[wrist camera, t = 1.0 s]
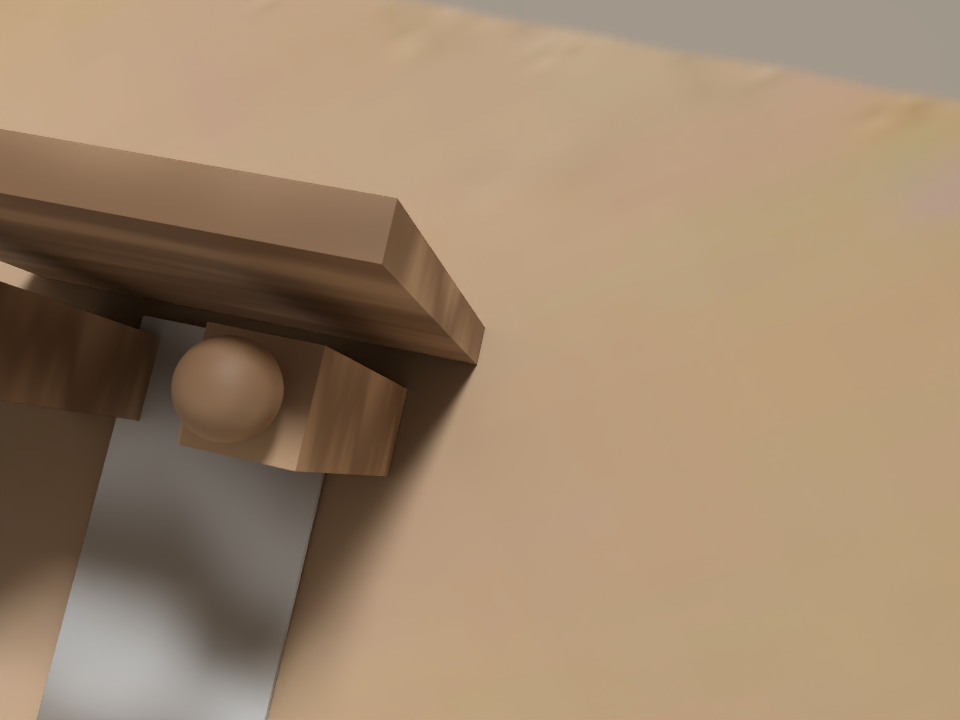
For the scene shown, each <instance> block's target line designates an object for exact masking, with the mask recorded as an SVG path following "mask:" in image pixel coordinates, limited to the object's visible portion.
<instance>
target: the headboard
mask: <svg viewBox="0 0 960 720" xmlns="http://www.w3.org/2000/svg"><path fill="white" fill-rule="evenodd" d="M0 261H2V262H5V263H7V264H10V265H13V266H15V267H18V268H20V269H23V270H26V271H28V272H31V273H34V274H36V275H39V276H41V277H44V278H49V279H54V280H59V281H64V282H69V283H74V284H79V285H84V286H88V287H93V288H98V289H103V290H108V291H113V292H118V293H123V294H128V295H133V296H138V297H143V298H148V299H153V300H158V301H163V302H168V303H173V304H178V305H183V306H188V307H193V308H198V309H203V310H208V311H213V312H218V313H223V314H228V315H232V316H237V317H242V318H247V319H252V320H257V321H262V322H267V323H272V324H277V325H282V326H287V327H292V328H297V329H302V330H307V331H312V332H317V333H322V334H327V335H332V336H337V337H342V338H347V339H352V340H357V341H362V342H367V343H372V344H377V345H381V346H386V347H391V348H396V349H401V350H406V351H411V352H416V353H421V354H426V355H431V356H436V357H441V358H446V359H451V360H456V361H461V362H466V363H471V364H476V365H477V362H478V357H479V353H480V348H481V344H482V339H483V335H484V330H485V327H484V326H483V324H482V323H481V321H480V320H479V318H478V317H477V315H476V314H475V312H474V311H473V309H472V308H471V306H470V305H469V304H468V302H467V301H466V299H465V298H464V296H463V295H462V293H461V292H460V290H459V289H458V287H457V286H456V284H455V283H454V281H453V280H452V278H451V277H450V275H449V274H448V272H447V271H446V270H445V268H444V267H443V265H442V264H441V262H440V261H439V259H438V258H437V256H436V255H435V253H434V252H433V250H432V249H431V247H430V246H429V244H428V243H427V241H426V240H425V239H424V237H423V236H422V234H421V233H420V231H419V230H418V228H417V227H416V225H415V224H414V222H413V221H412V219H411V218H410V216H409V215H408V213H407V212H406V210H405V209H404V208H403V206H402V205H401V203H400V202H399V200H398V199H397V198H392V197H387V196H381V195H375V194H370V193H364V192H358V191H352V190H347V189H341V188H335V187H329V186H324V185H318V184H312V183H307V182H301V181H295V180H289V179H284V178H278V177H272V176H266V175H261V174H255V173H249V172H244V171H238V170H232V169H226V168H221V167H215V166H209V165H203V164H198V163H192V162H186V161H181V160H175V159H169V158H163V157H158V156H152V155H146V154H140V153H135V152H129V151H123V150H117V149H112V148H106V147H100V146H95V145H89V144H83V143H77V142H72V141H66V140H60V139H54V138H49V137H43V136H37V135H32V134H26V133H20V132H14V131H9V130H3V129H0ZM407 390H408V389H406V388H404V387H402V386H401V385H399V384H397V383H395V382H393V381H391V380H389V379H387V378H386V377H384V376H382V375H380V374H378V373H376V372H374V371H372V370H370V369H369V368H367V367H365V366H363V365H361V364H359V363H357V362H355V361H354V360H352V358H350V357H346V356H344V355H342V354H340V353H338V352H337V351H335V350H333V349H331V348H329V347H327V346H325V345H320V344H316V343H311V342H306V341H301V340H296V339H291V338H286V337H281V336H276V335H271V334H266V333H261V332H257V331H252V330H247V329H242V328H237V327H232V326H227V325H222V324H217V323H212V322H207V325H206V328H204V327H199V326H194V325H189V324H184V323H179V322H174V321H169V320H164V319H160V318H155V317H150V316H145V315H143V319H142V322H141V326H140V330H138V329H135V328H133V327H130V326H127V325H124V324H121V323H118V322H115V321H112V320H110V319H107V318H104V317H101V316H98V315H95V314H92V313H89V312H87V311H84V310H81V309H78V308H75V307H72V306H69V305H66V304H64V303H61V302H58V301H55V300H52V299H49V298H46V297H44V296H41V295H38V294H35V293H32V292H29V291H26V290H23V289H21V288H18V287H15V286H12V285H9V284H6V283H3V282H0V400H1V401H8V402H14V403H21V404H28V405H35V406H41V407H48V408H55V409H62V410H68V411H75V412H82V413H89V414H96V415H102V416H109V417H116V421H115V425H114V428H113V432H112V436H111V440H110V444H109V447H108V451H107V455H106V459H105V462H104V466H103V470H102V474H101V478H100V481H99V485H98V489H97V493H96V497H95V500H94V504H93V508H92V512H91V516H90V519H89V523H88V527H87V531H86V534H85V538H84V542H83V546H82V550H81V553H80V557H79V561H78V565H77V569H76V572H75V576H74V580H73V584H72V588H71V591H70V595H69V599H68V603H67V606H66V610H65V614H64V618H63V622H62V625H61V629H60V633H59V637H58V641H57V644H56V648H55V652H54V656H53V660H52V663H51V667H50V671H49V675H48V678H47V682H46V686H45V690H44V694H43V697H42V701H41V705H40V709H39V713H38V716H37V720H267V718H268V713H269V709H270V705H271V701H272V696H273V692H274V688H275V684H276V679H277V675H278V671H279V667H280V662H281V658H282V654H283V650H284V645H285V641H286V637H287V633H288V628H289V624H290V620H291V616H292V611H293V607H294V603H295V599H296V594H297V590H298V586H299V582H300V577H301V573H302V569H303V565H304V560H305V556H306V552H307V548H308V543H309V539H310V535H311V531H312V526H313V522H314V518H315V514H316V509H317V505H318V501H319V497H320V492H321V488H322V484H323V480H324V475H325V473H335V474H353V475H370V476H388V473H389V469H390V464H391V460H392V456H393V451H394V447H395V442H396V438H397V434H398V429H399V425H400V420H401V416H402V412H403V407H404V403H405V398H406V394H407Z"/></svg>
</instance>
